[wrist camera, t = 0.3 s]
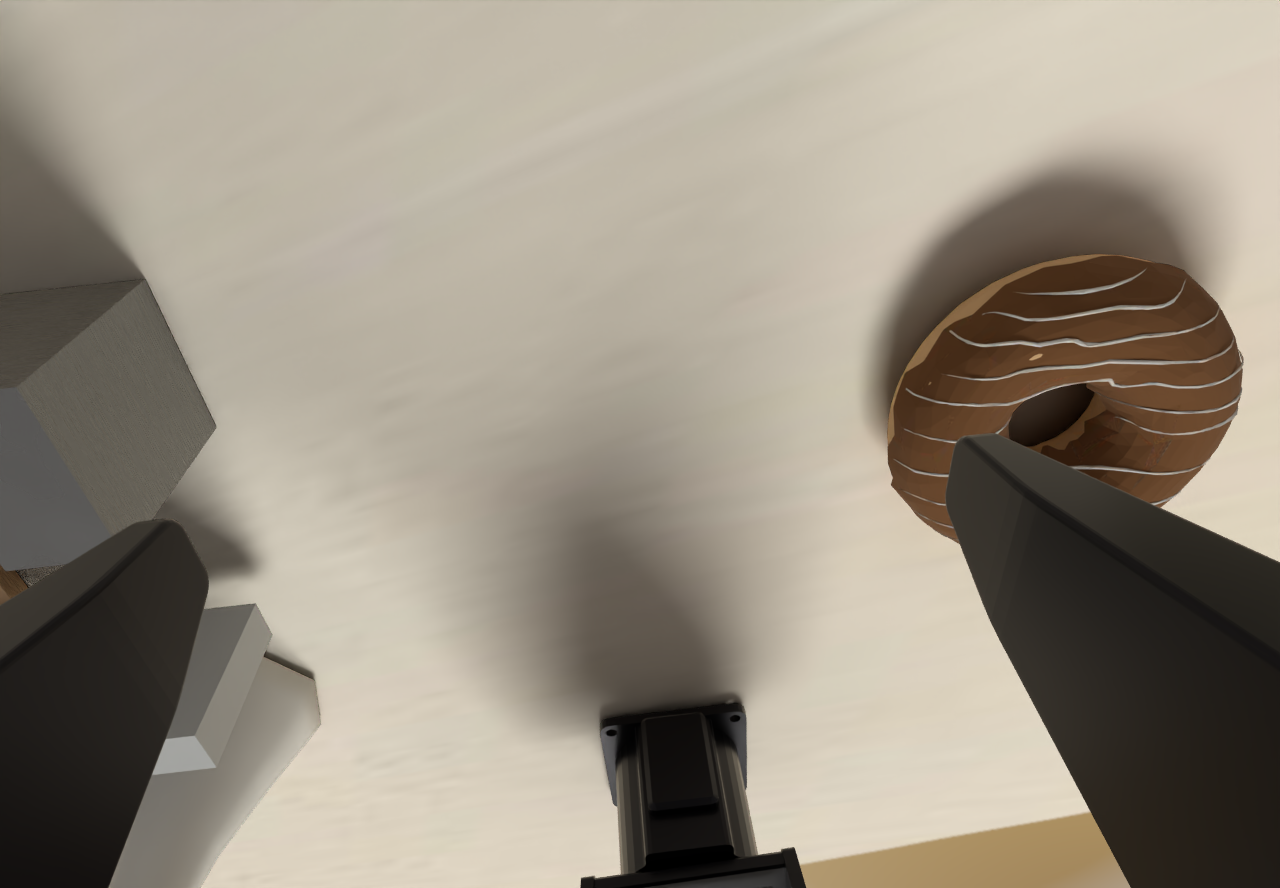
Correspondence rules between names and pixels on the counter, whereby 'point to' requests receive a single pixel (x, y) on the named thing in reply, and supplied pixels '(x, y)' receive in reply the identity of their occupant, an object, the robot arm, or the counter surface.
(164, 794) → the flask
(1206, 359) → the donut
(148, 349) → the gauge housing
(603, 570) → the counter surface
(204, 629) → the gauge plunger
